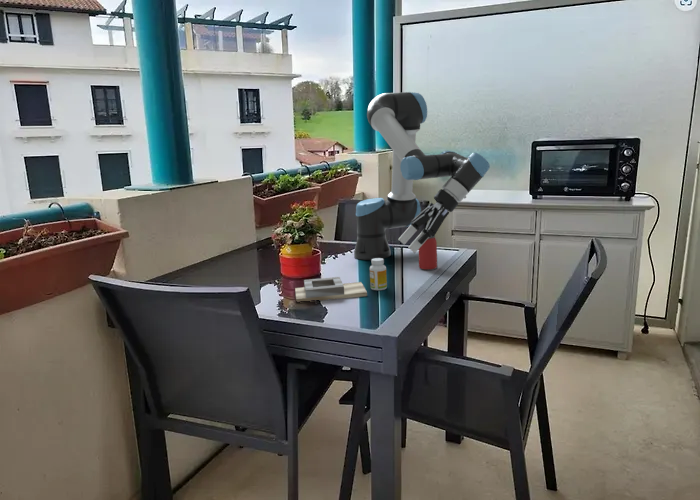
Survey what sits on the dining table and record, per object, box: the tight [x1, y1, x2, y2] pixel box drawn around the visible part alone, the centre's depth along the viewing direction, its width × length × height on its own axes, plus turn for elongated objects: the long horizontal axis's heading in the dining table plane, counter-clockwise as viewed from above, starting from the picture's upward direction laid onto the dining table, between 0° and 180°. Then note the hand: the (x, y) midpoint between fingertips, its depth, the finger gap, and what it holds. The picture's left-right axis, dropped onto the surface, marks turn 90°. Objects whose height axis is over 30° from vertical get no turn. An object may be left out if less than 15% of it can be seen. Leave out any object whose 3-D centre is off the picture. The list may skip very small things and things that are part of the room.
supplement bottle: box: [369, 258, 388, 291], centre depth 164 cm, size 5×5×10 cm
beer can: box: [418, 235, 438, 271], centre depth 185 cm, size 7×7×12 cm
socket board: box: [294, 276, 368, 302], centre depth 162 cm, size 12×22×4 cm, turn 98°
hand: (406, 246), depth 163 cm, fingers open, 13 cm apart
